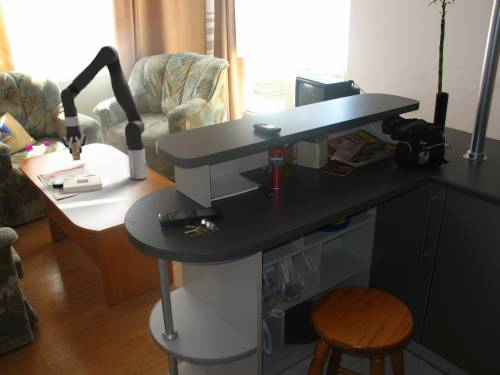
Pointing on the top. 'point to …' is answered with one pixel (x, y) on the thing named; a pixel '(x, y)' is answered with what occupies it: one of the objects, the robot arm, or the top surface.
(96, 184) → the socket board
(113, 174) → the top surface
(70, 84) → the robot arm
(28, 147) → the toy block
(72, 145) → the oak peg
